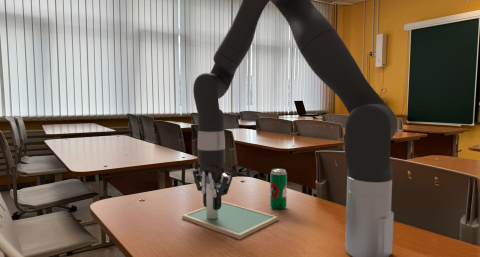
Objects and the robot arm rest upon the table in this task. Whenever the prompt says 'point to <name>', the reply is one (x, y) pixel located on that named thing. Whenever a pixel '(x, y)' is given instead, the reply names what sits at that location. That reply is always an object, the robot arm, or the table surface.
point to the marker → (210, 200)
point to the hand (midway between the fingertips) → (212, 207)
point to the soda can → (278, 189)
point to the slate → (232, 220)
